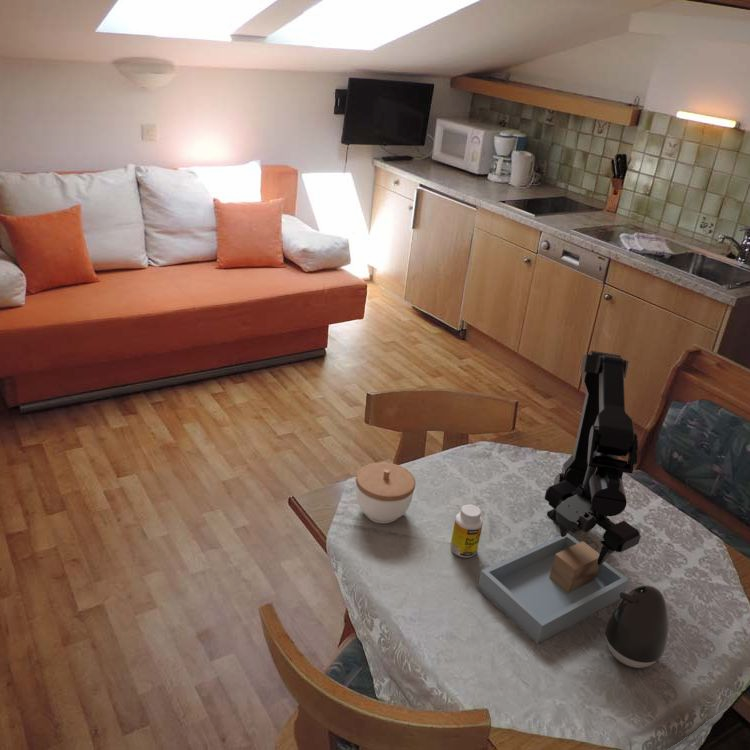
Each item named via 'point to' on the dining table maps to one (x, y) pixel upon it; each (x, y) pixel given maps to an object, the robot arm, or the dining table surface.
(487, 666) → the dining table surface
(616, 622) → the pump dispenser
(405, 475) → the lidded bowl
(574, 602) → the tray
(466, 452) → the dining table surface
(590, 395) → the robot arm
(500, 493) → the dining table surface
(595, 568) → the walnut box
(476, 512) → the supplement bottle
